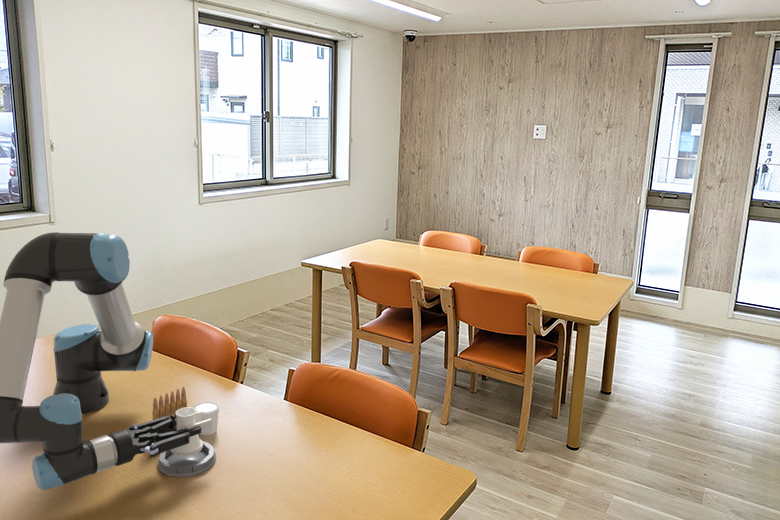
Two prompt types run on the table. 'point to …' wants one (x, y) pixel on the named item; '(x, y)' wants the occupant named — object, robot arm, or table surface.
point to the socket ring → (187, 462)
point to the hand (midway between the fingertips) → (205, 420)
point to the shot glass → (209, 414)
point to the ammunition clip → (169, 405)
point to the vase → (185, 419)
